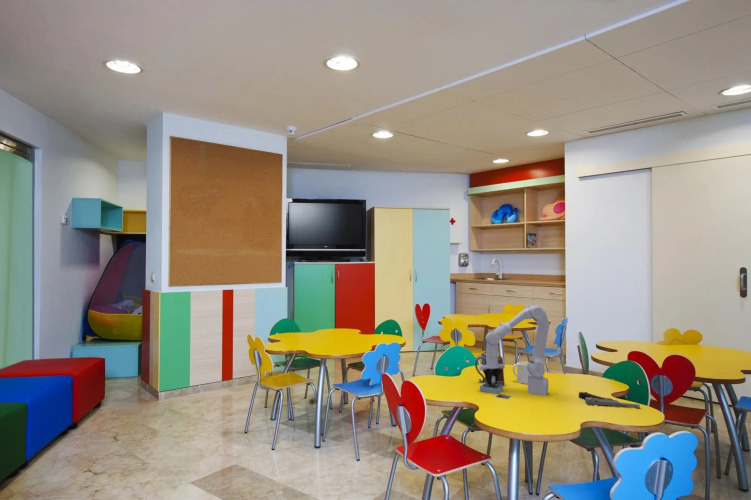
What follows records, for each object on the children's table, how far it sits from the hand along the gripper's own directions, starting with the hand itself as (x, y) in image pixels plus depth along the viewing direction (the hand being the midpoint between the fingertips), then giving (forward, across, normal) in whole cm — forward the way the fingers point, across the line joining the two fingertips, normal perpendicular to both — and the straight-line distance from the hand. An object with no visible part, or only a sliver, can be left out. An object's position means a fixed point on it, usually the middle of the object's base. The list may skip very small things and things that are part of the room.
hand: (491, 383), depth 229 cm
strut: (+2, 0, 0) cm, 2 cm away
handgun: (+5, +41, -34) cm, 54 cm away
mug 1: (+5, +10, +13) cm, 17 cm away
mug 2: (+5, +31, +10) cm, 33 cm away
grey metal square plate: (+4, -2, -10) cm, 12 cm away
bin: (+4, 0, 0) cm, 4 cm away
